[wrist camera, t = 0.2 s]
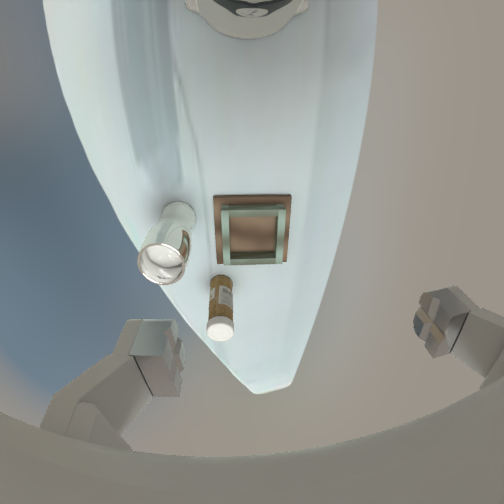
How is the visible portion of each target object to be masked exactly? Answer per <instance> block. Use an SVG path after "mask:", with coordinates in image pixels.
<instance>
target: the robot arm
mask: <svg viewBox="0 0 504 504" xmlns="http://www.w3.org/2000/svg"><path fill="white" fill-rule="evenodd" d="M186 7H187V8H188V9H189V10H191V11H193V12H195V13H197V14H200V15H201V16H202V17H203V18H204V19H205V20H206V21H207V22H208V24H209V25H210V26H212V27H213V28H214V29H215V30H217V31H219V32H220V33H222V34H225V35H227V36H230V37H234V38H240V39H256V38H262V37H266V36H269V35H271V34H273V33H275V32H277V31H279V30H280V29H282V28H283V27H284V26H285V25H286V24H287V23H288V22H289V20H290V19H291V18H292V17H294V16H296V15H298V14H301V13H303V12H305V11H306V10H307V9H308V7H309V2H308V0H186ZM419 304H420V308H419V309H418V310H417V312H416V313H415V316H414V320H413V323H414V330H415V333H416V334H417V336H418V337H419V338H420V339H422V340H424V341H425V347H426V349H427V350H428V351H429V353H430V354H431V356H432V357H433V358H436V357H439V356H443V355H446V354H449V353H450V354H451V355H452V356H454V357H455V358H457V359H458V360H460V361H461V362H463V363H464V364H465V365H467V366H468V367H470V368H471V369H473V370H474V371H476V372H477V373H479V374H480V375H482V376H483V377H484V378H485V380H484V381H483V383H482V384H481V386H480V390H479V391H477V392H475V393H473V394H471V395H469V396H467V397H465V398H464V399H462V400H460V401H458V402H456V403H453V404H451V405H449V406H447V407H445V408H443V409H440V410H438V411H436V412H433V413H432V414H429V415H426V416H424V417H421V418H419V419H416V420H414V421H411V422H408V423H405V424H403V425H400V426H397V427H394V428H392V429H388V430H385V431H382V432H378V433H375V434H372V435H368V436H365V437H361V438H357V439H353V440H349V441H345V442H341V443H336V444H332V445H327V446H322V447H316V448H311V449H305V450H298V451H291V452H284V453H275V454H265V455H252V456H232V457H196V456H176V455H163V454H153V453H145V452H137V451H133V450H132V449H131V447H130V446H129V445H128V444H127V442H126V441H125V440H124V439H123V438H122V437H121V436H120V435H121V434H122V433H123V432H124V431H125V430H126V429H127V427H128V426H129V425H130V424H131V423H132V422H133V421H134V419H135V418H136V417H137V416H138V415H139V414H140V413H141V411H142V410H143V409H144V408H145V407H146V406H147V404H148V403H149V402H150V401H151V400H152V399H153V396H157V397H180V390H181V384H182V379H181V376H180V372H181V371H182V370H183V369H184V363H185V353H184V347H183V343H182V340H181V339H180V338H178V337H177V336H178V331H179V328H178V325H177V322H176V320H174V319H144V320H142V319H130V320H128V321H127V322H126V324H125V326H124V328H123V330H122V332H121V335H120V337H119V339H118V342H117V344H116V346H115V349H114V351H113V353H112V355H107V356H105V357H104V358H103V359H101V360H100V361H99V362H97V363H96V364H94V365H93V366H92V367H91V368H89V369H88V370H86V371H85V372H84V373H82V374H81V375H80V376H78V377H77V378H76V379H74V380H73V381H71V382H70V383H69V384H67V385H66V386H65V387H63V388H62V389H61V390H60V391H58V392H57V393H56V394H54V395H53V397H52V400H51V402H50V404H49V406H48V409H47V411H46V413H45V416H44V418H43V420H42V423H41V425H40V428H38V427H35V426H33V425H30V424H28V423H25V422H23V421H20V420H18V419H15V418H13V417H11V416H8V415H6V414H4V413H2V412H0V504H504V317H503V316H500V315H498V314H496V313H493V312H491V311H488V310H486V309H484V308H481V309H480V308H479V307H478V306H477V305H476V304H475V303H474V302H473V301H472V300H471V299H470V298H469V297H468V296H467V295H466V294H465V293H464V292H463V291H462V290H461V289H460V288H458V287H457V286H449V287H446V288H443V289H438V290H434V291H428V292H424V293H423V294H422V295H421V297H420V300H419Z"/></svg>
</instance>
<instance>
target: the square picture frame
mask: <svg viewBox="0 0 504 504" xmlns="http://www.w3.org/2000/svg"><path fill="white" fill-rule="evenodd" d="M213 201H214V220H215V236H216V252H217V264H224V265H255V264H282V262H287V250H288V238H289V225H290V212H291V195H224V196H214V197H213Z"/></svg>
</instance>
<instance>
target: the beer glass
mask: <svg viewBox="0 0 504 504" xmlns="http://www.w3.org/2000/svg"><path fill="white" fill-rule="evenodd" d="M195 221H196V216H195V212H194V210H193V209H192V208H191V207H190V206H189V205H188V204H186V203H184V202H172V203H170V204H169V205H167V206H166V207H165V208H164V210H163V213H162V218H161V220H160V221H159V222H157V223H156V224H155V225H154V226H153V227H152V229H151V230H150V231H149V232H148V234H147V236H146V237H145V240H144V242H143V244H142V247H141V250H140V252H139V255H138V259H137V263H138V267H139V270H140V271H141V273H142V274H143V275H144V277H145V278H147V279H148V280H150V281H151V282H153V283H156V284H160V285H169V284H173V283H175V282H177V281H178V280H180V279H181V277H182V276H183V274H184V272H185V268H186V266H187V263H188V260H189V257H190V252H191V229H192V228H193V226H194V224H195Z"/></svg>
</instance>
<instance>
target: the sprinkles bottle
mask: <svg viewBox="0 0 504 504" xmlns="http://www.w3.org/2000/svg"><path fill="white" fill-rule="evenodd" d="M232 286H233V284H232V281H231V280H230V279H229V278H228V277H226V276H216V277H214V278H213V279H212V280H211V283H210V287H211V289H210V300H209V319H208V323H207V335H208V336H209V337H210V338H211V339H213V340H216V341H226V340H228V339H230V338H231V337H232V336H233V334H234V323H233V294H232Z"/></svg>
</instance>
